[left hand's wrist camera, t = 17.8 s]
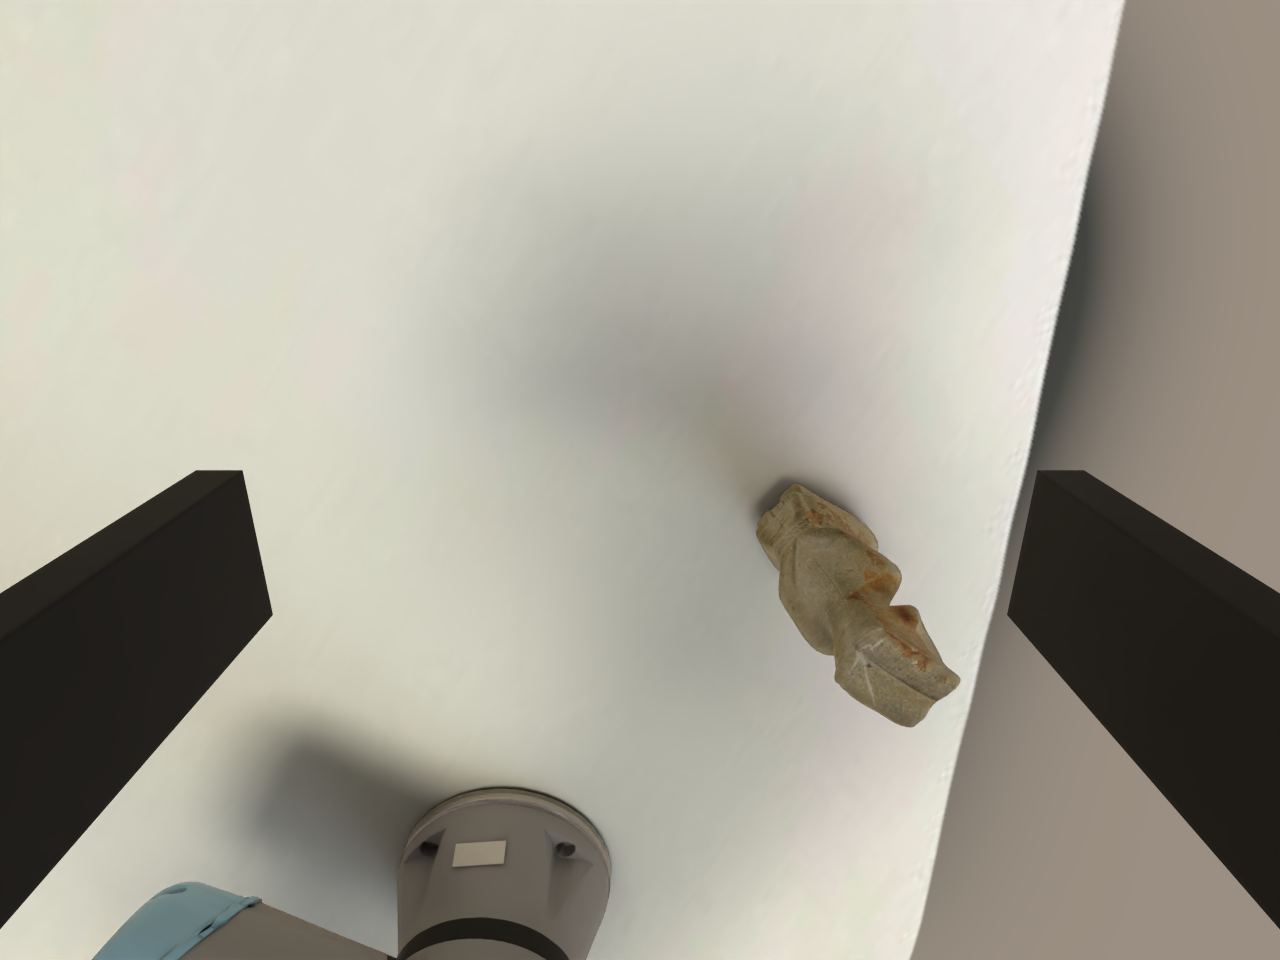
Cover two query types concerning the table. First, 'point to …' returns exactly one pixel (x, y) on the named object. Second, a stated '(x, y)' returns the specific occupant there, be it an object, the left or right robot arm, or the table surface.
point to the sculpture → (853, 607)
